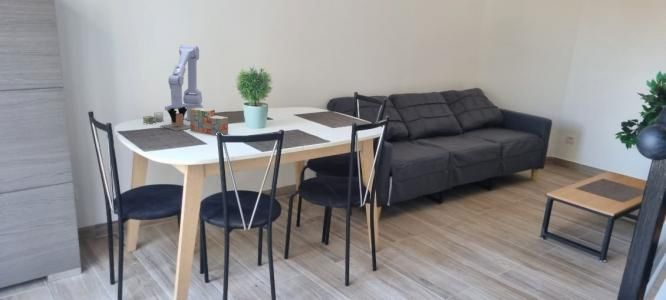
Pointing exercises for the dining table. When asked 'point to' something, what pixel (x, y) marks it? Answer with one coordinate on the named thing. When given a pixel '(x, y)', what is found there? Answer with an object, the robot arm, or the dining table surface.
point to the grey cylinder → (159, 116)
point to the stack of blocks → (207, 121)
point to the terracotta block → (178, 119)
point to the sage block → (149, 119)
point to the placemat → (177, 127)
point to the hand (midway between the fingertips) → (177, 121)
